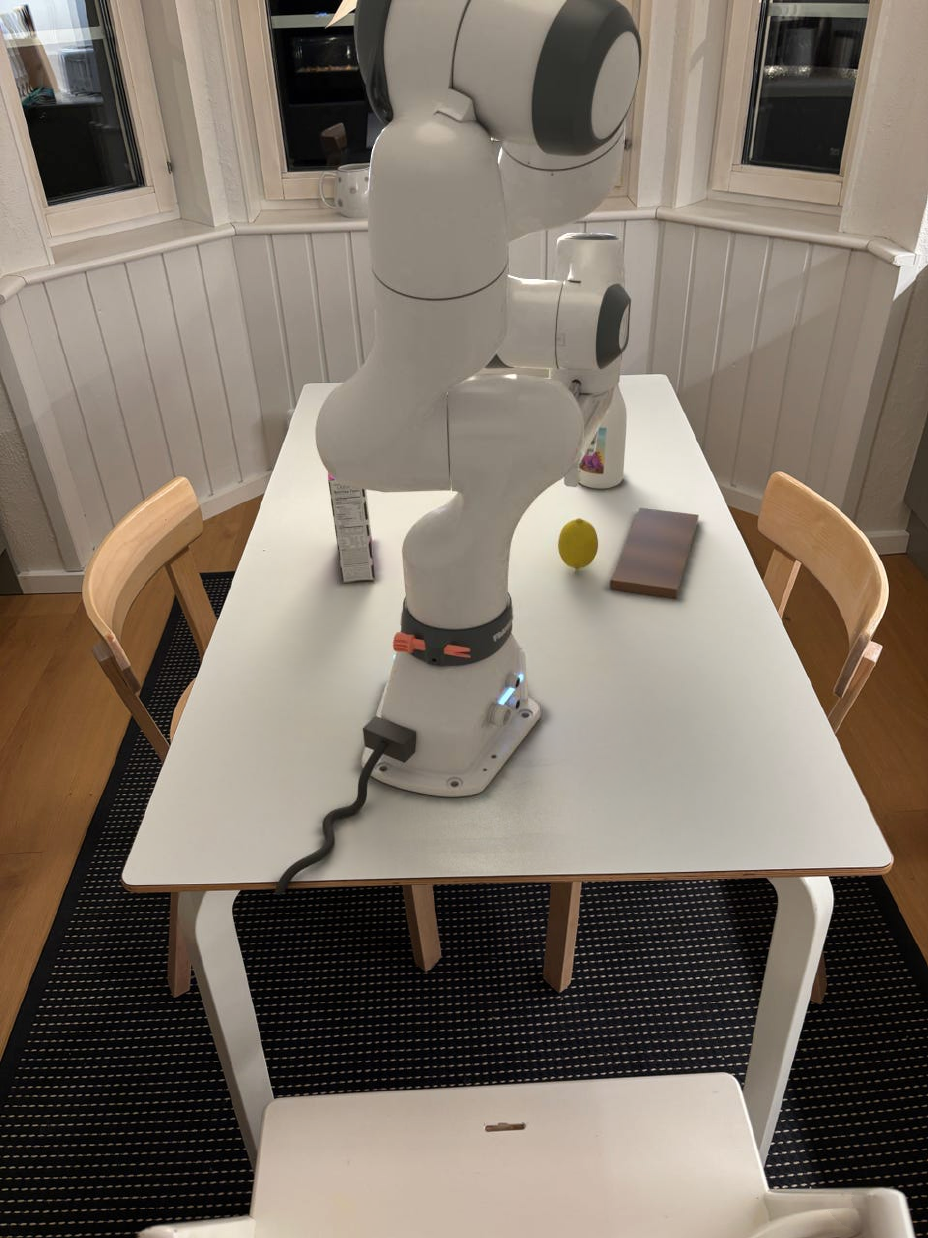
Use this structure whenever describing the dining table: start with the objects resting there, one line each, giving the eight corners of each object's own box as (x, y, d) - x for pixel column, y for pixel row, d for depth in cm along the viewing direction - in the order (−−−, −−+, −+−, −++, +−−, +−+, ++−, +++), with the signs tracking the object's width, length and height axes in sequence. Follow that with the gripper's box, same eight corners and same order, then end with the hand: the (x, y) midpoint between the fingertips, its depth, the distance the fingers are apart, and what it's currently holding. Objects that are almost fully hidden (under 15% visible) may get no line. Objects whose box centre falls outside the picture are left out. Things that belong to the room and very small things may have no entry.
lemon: (594, 580, 132) (597, 530, 128) (555, 577, 133) (556, 527, 129) (598, 560, 137) (601, 510, 132) (559, 557, 138) (561, 508, 133)
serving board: (676, 599, 128) (677, 589, 127) (609, 589, 130) (610, 579, 129) (697, 523, 145) (698, 514, 144) (638, 516, 147) (639, 507, 146)
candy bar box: (339, 545, 143) (326, 443, 133) (372, 542, 143) (362, 441, 134) (340, 584, 133) (326, 478, 124) (375, 581, 134) (365, 475, 125)
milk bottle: (610, 466, 162) (617, 350, 151) (631, 485, 156) (639, 366, 145) (568, 473, 160) (572, 357, 149) (587, 493, 154) (593, 373, 143)
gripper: (591, 401, 110) (586, 507, 118) (625, 342, 125) (619, 439, 133) (538, 396, 111) (536, 501, 119) (578, 339, 127) (574, 435, 135)
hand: (580, 468), depth 126 cm, fingers open, 8 cm apart
